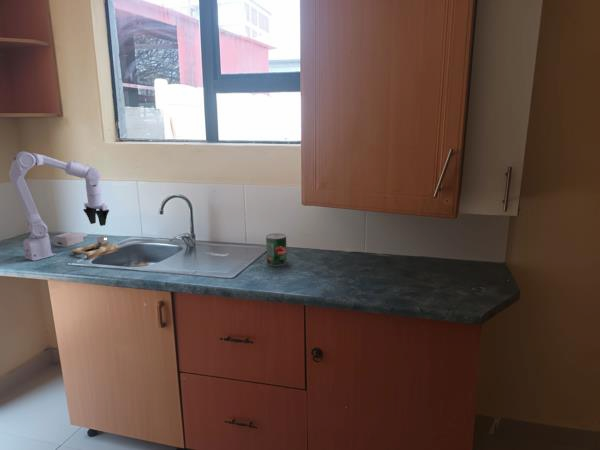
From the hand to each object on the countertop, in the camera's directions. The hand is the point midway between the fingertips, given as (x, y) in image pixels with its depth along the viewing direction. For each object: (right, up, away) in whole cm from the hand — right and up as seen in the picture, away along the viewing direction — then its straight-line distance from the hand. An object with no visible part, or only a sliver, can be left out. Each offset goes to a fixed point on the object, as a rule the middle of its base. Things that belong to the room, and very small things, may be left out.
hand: (97, 224), depth 200 cm
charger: (-16, -9, +11) cm, 22 cm away
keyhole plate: (+3, -12, -7) cm, 15 cm away
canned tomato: (+82, -15, -26) cm, 87 cm away
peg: (+5, -12, -4) cm, 13 cm away
